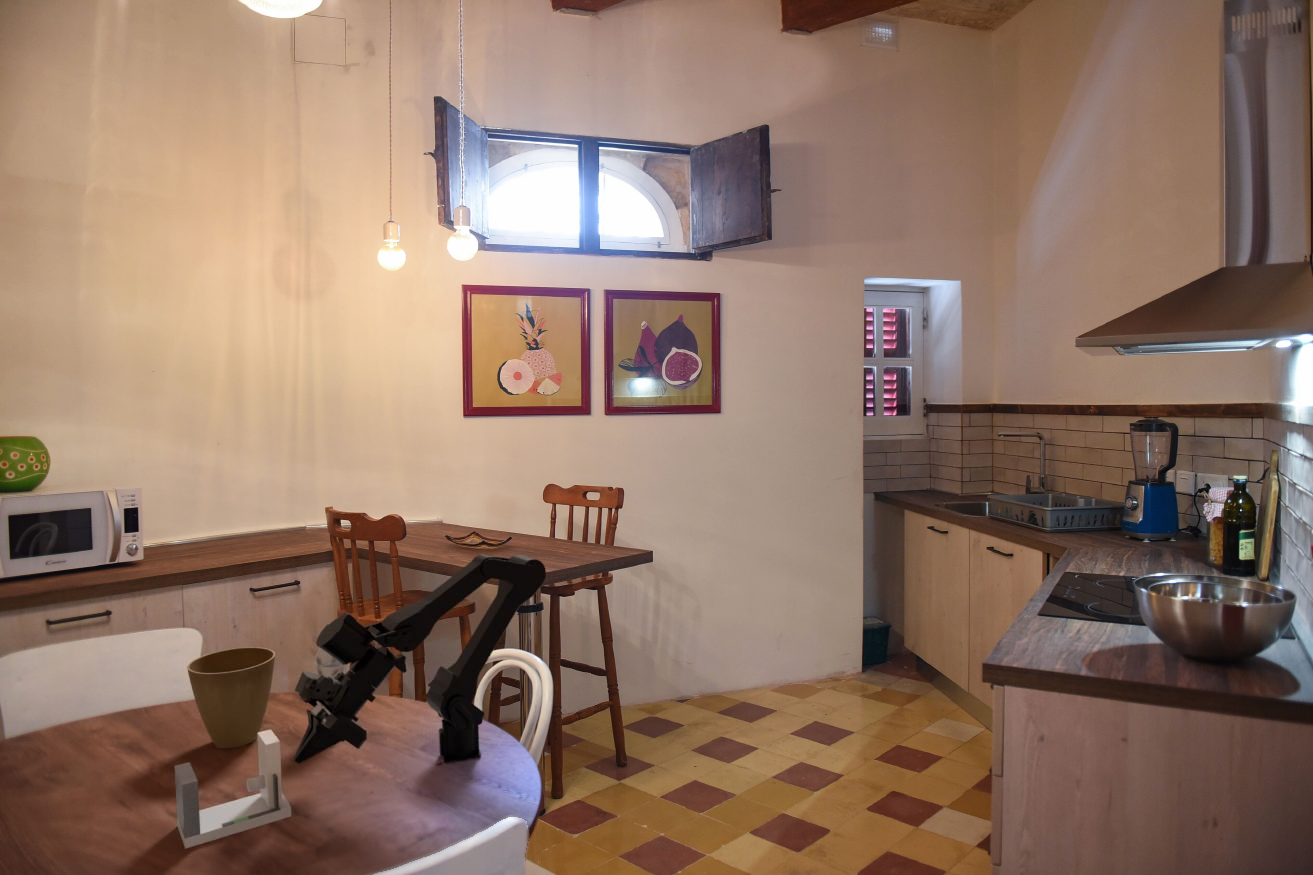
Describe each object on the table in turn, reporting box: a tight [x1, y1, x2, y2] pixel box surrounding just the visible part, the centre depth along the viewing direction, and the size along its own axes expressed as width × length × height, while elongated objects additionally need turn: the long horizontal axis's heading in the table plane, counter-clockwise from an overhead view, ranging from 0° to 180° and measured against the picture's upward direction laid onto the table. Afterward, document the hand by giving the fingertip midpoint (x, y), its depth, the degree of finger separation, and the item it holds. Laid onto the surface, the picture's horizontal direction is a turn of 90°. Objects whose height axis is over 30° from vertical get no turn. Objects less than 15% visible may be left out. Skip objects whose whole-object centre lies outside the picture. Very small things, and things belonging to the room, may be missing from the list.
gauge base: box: [176, 792, 292, 850], centre depth 126 cm, size 14×8×2 cm, turn 127°
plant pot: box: [186, 646, 276, 749], centre depth 156 cm, size 15×15×16 cm
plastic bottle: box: [314, 647, 351, 678], centre depth 160 cm, size 6×7×20 cm
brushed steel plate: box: [174, 761, 200, 839], centre depth 122 cm, size 2×8×8 cm, turn 37°
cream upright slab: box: [246, 729, 283, 809], centre depth 128 cm, size 4×7×10 cm, turn 37°
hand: (295, 761), depth 132 cm, fingers closed
